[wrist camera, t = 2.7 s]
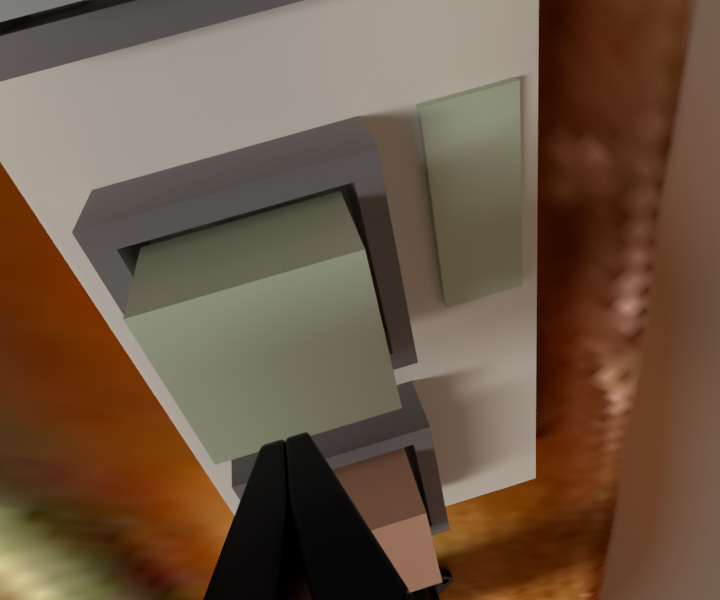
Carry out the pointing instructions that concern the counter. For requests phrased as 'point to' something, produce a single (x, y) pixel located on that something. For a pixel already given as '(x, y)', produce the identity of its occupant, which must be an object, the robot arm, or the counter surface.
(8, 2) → the slate button
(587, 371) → the counter surface
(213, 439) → the sage button
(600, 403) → the counter surface
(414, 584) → the terracotta button
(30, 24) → the button panel
